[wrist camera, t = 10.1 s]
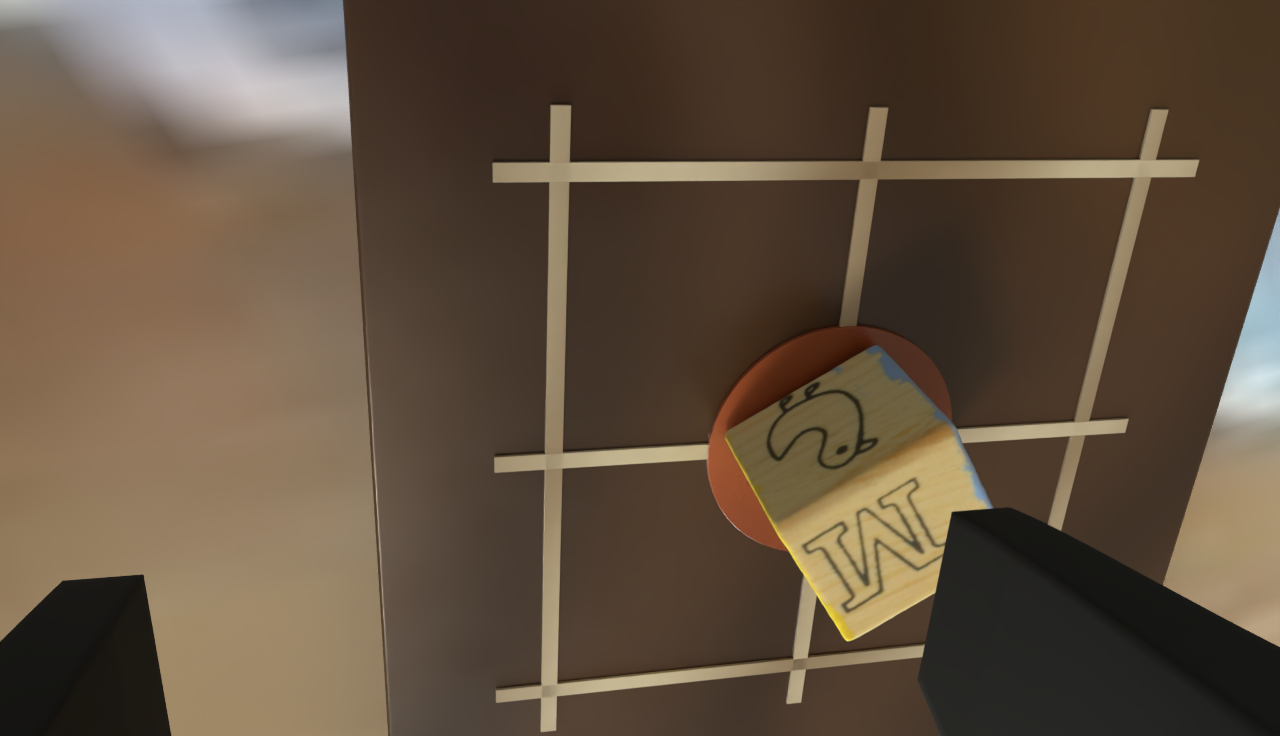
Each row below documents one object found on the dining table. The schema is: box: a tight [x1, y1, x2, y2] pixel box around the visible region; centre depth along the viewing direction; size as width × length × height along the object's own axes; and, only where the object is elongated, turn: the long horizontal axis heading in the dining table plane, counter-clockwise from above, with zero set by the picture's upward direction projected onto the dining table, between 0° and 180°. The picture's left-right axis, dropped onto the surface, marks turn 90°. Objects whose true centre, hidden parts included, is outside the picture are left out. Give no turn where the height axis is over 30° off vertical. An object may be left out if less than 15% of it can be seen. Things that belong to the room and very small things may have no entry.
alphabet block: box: [725, 345, 993, 641], centre depth 18 cm, size 3×3×3 cm
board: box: [343, 0, 1280, 736], centre depth 20 cm, size 16×20×1 cm
